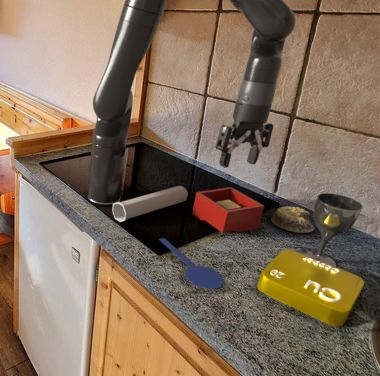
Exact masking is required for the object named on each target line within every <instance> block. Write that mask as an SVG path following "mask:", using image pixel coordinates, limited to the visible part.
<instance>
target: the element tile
mask: <svg viewBox="0 0 380 376" xmlns="http://www.w3.org/2000/svg"><path fill="white" fill-rule="evenodd" d="M256 286H257V289H258V291H259V292H261V293H262V294H264V295H266V296H268V297H270V298H273V300H274V299H275V300H276V301H279V302H280V303H282V304H285V305H287V306H289V307H291V308H293V309H295V310H298V311H299V312H302V313H303V314H306V315H307V316H310V317H312V318H314V319H316V320H318V321H320V322H322V323H325V324H326V325H329V326H332V327H342V326H344V324H345V323H346V321H347V319H348V317H349V316H350V313H351V312H352V311H353V308H354V306H355V305H356V303H357V301H358V299H359V297H360V295H361V293H362V291H363V287H364V286H365V281H364V280H363V278H362V277H361V276H358V275H357V274H354V273H352V272H350V271H346V270H345V269H342V268H339V267H337V266H336V267H334V266H332V265H329V264H327V263H324V262H322V261H319V260H317V259H314V258H311V257H309V256H306V255H304V254H301V252H299V251H296V250H292V249H290V248H286V249H282V250H281V251H280V252H279V253H278V254H277V255H276V256H274V258H273V259H272V260H271V261H270V262H269V263H268V264H267V265H266V266H265V267H264V268H263V269H262V270H261V273H260V276H259V279H258V282H257V285H256Z"/></svg>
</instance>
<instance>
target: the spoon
mask: <svg viewBox="0 0 380 376" xmlns="http://www.w3.org/2000/svg"><path fill="white" fill-rule="evenodd" d="M158 240H159V241H160V242H161V243H162V244H163V245H164V246H166V247H167V249H169V250H170V251H171V252H172V253H173V254H174V255H176V257H177V258H179V260H180V261H182V262H183V263H184V264H185V265H186V266H188V268H186V270H185V271H184V274H185V278H186V279H187V280H188V281H189V282H190V283H191V284H193V285H194V286H197V287H199V288H201V289H207V290H208V289H209V290H214V289H219V288H221V287H222V286H223V285H224V278H223V276H222V275H221V274H220V273H219V272H218V271H216V270H214V268H213V269H212V268H210V267H208V266H202V265H195V264H194V263H193V262H192V261H191V260H190V259H189V258H188V257H186V256H185V255H184V254H183V253H182V252H181V251H179V250H178V249H177V248H176V247H175V246H174V245H172V244H171V242H170V241H168V240H167V239H166V238H165V237H162V238H159V239H158Z"/></svg>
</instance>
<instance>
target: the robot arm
mask: <svg viewBox="0 0 380 376" xmlns="http://www.w3.org/2000/svg"><path fill="white" fill-rule="evenodd" d="M167 1H168V0H124V4H123V6H122V9H121V13H120V16H119V19H118V23H117V26H116V30H115V34H114V38H113V41H112V45H111V48H110V53H109V57H108V61H107V64H106V66H105V69H104V72H103V74H102V77H101V79H100V81H99V84H98V85H97V88H96V91H95V92H94V94H93V99H92V109H93V111H94V114H95V116H96V122H95V124H94V125H95V126H94V128H93V131H92V141H91V152H90V154H91V155H90V163H89V164H90V165H89V170H88V171H89V172H88V185H87V186H88V187H87V199H88V201H89V202H91V203H92V204H95V205H98V206H104V207H105V206H109V207H110V206H113V204H114V203H117V202H121V195H122V191H123V190H122V184H123V177H124V176H123V175H124V167H125V158H126V150H127V141H128V135H129V133H130V128H131V120H132V114H133V113H132V112H133V105H134V94H133V92H132V91H133V90H132V87H133V85H134V80H135V77H136V74H137V72H138V69H139V68H140V65H141V63H142V61H143V60H144V58H145V56H146V55H147V52H149V51H148V50H149V49H150V47H151V45H152V43H153V41H154V38H155V36H156V34H157V32H158V29H159V26H160V23H161V20H162V17H163V14H164V12H165V9H166V5H167ZM228 2H229V3H230V4H231V6H232V7H234V8H235V9H236V10H237V11H239V12H240V13H241V14H242V15H243V16H244V18H245V19H246V20H247V21H248V23H249V24H250V25H251V27H252V28H253V32H252V36H251V43H250V51H249V55H248V59H247V61H246V65H245V69H244V71H243V72H244V73H243V77H242V80H241V83H240V85H239V88H238V92H237V96H236V100H235V105H234V109H233V112H232V118H233V123H232V125H226V124H222V125H221V126H220V129H219V133H218V136H217V139H216V143H215V150H219V151H221V153H220V157H219V162H218V163H219V166H220V167H222V168H223V169H226V168H229V166H230V162H231V158H232V152H233V151H234V150H235V149H236V148H238V147H240V146H241V144H246V143H249V144H250V148H249V152H248V155H247V159H246V162H247V163H248V164H250V165H256V164H257V161H258V160H259V156H260V153H261V151H262V150H263V149H264V148H268V147H269V146H270V142H271V139H272V135H273V129H274V126H275V125H274V124H273V123H270V122H268V120H269V116H270V113H271V108H272V106H273V103H274V98H275V96H276V89H277V84H278V79H279V76H280V72H281V68H282V66H283V65H282V64H283V55H282V53H283V50H284V46H285V43H286V39H287V38H288V37H289V36H290V35H291V34H292V33H293V31H294V29H295V27H296V15H295V13H294V11H293V10H292V9H291V8H290V6H289V5H288V4H287V3H286V2H285V1H284V0H228ZM233 139H234V140H233Z"/></svg>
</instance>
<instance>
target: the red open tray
mask: <svg viewBox="0 0 380 376" xmlns="http://www.w3.org/2000/svg"><path fill="white" fill-rule="evenodd" d="M224 200H230V201H232V202H234V203H235V204H237V205H239V206H240V207H241V208H239V209H233V210H226V209H225V208H223V207H222V206H220V205H219V204H217V203H216V202H218V201H224ZM264 210H265V205H264V204H262V203H260V202H258V201H257V200H255V199H253V198H251V197H250V196H248V195H246V194H244V193H242V192H241V191H239V190H238V189H235V188H233V187H232V186H230V187H222V188H217V189H210V190H203V191H197V192H195V198H194V204H193V208H192V211H191V214H192V215H193V216H194V217H196V218H197V219H199V221H205V222H206V223H207V224H209V225H211V226H212V227H213V228H215V230H218V231H219V232H220V233H221V234H224V233H230V232H236V233H242V232H246V231H253V230H257V229H259V226H260V223H261V220H262V216H263V212H264Z"/></svg>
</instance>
